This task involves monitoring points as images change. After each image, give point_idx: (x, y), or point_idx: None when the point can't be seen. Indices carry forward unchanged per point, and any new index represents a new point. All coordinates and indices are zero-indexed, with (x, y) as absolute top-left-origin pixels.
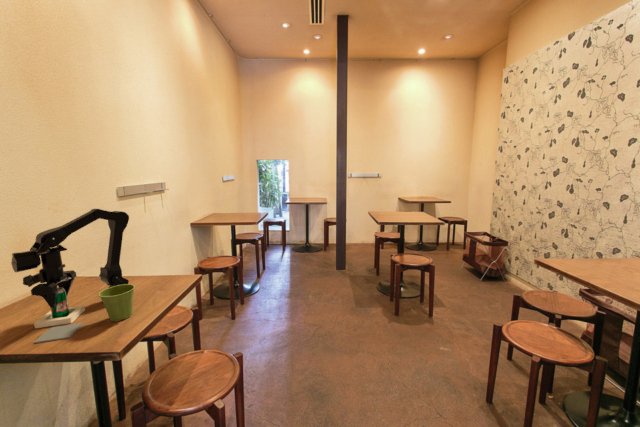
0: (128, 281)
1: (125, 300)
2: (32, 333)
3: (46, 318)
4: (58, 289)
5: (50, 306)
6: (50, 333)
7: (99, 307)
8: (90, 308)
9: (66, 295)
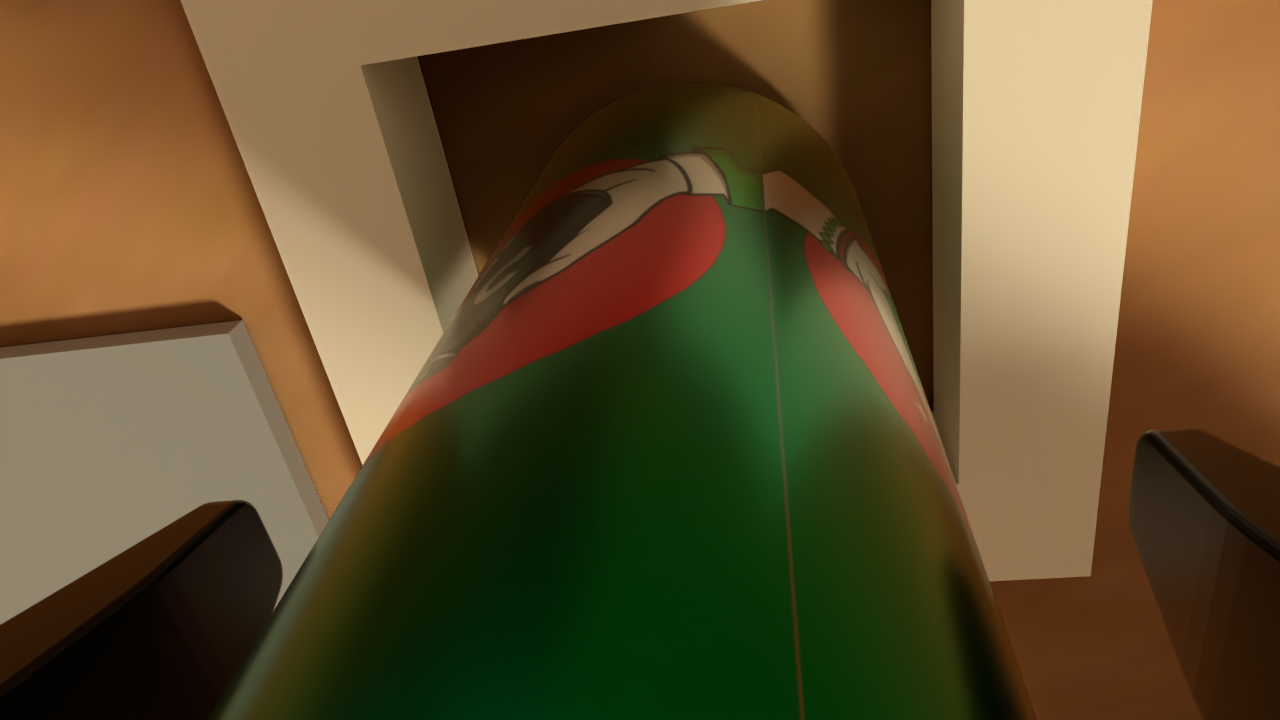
0: None
1: None
2: (25, 48)
3: (482, 41)
4: None
5: (161, 553)
6: (29, 464)
7: (1081, 681)
8: (1110, 555)
9: (1186, 659)
